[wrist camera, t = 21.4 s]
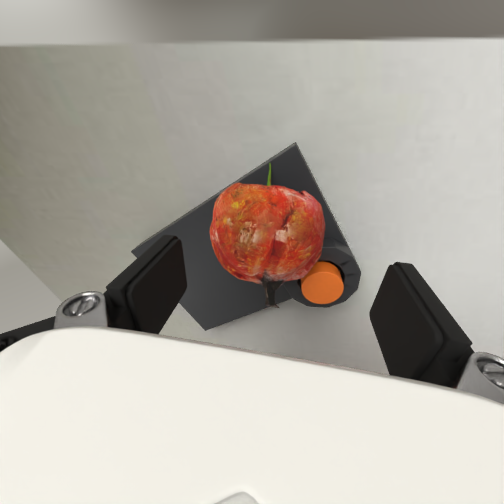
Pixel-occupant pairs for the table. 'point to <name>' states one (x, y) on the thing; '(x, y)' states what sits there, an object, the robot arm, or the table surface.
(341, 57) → the table surface
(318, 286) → the button
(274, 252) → the pomegranate
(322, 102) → the table surface
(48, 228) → the table surface
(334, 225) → the scale
